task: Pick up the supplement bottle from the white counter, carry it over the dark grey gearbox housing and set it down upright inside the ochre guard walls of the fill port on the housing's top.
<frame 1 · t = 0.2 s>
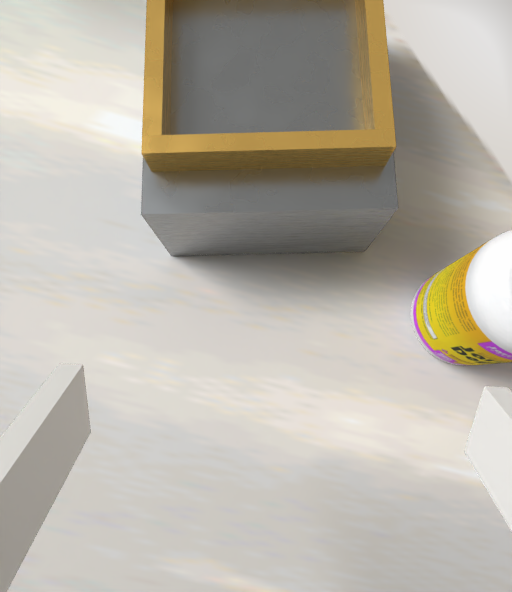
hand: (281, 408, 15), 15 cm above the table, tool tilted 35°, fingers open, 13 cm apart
supplement bottle: (454, 318, 31), on the table
gearbox: (264, 140, 33), on the table
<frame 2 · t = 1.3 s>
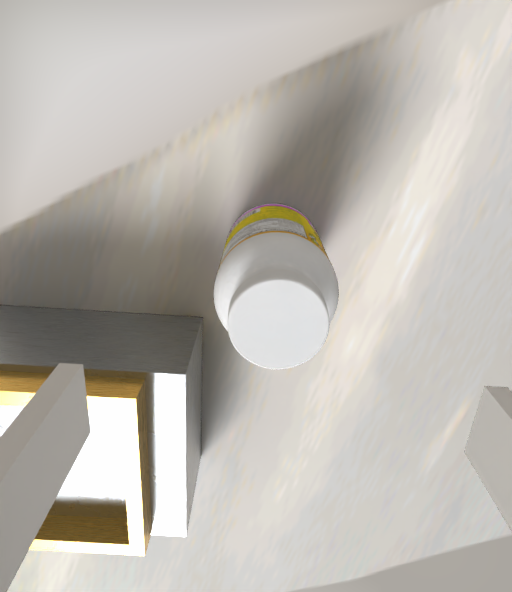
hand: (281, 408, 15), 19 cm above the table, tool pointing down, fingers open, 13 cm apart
supplement bottle: (272, 245, 32), on the table
gearbox: (94, 386, 37), on the table
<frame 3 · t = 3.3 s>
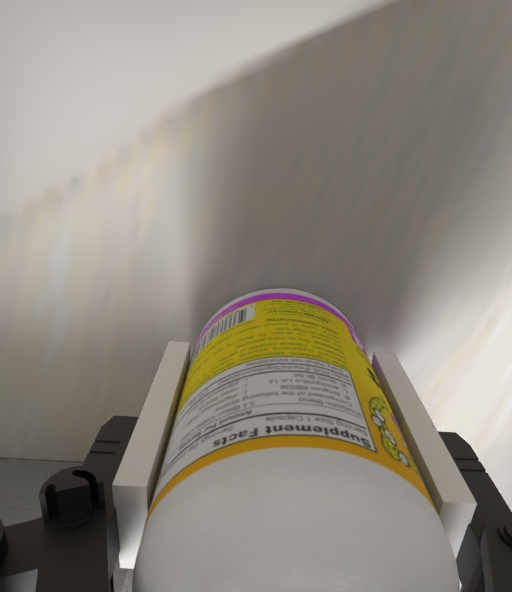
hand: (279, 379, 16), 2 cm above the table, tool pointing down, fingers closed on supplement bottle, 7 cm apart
supplement bottle: (277, 355, 18), on the table, touching gripper
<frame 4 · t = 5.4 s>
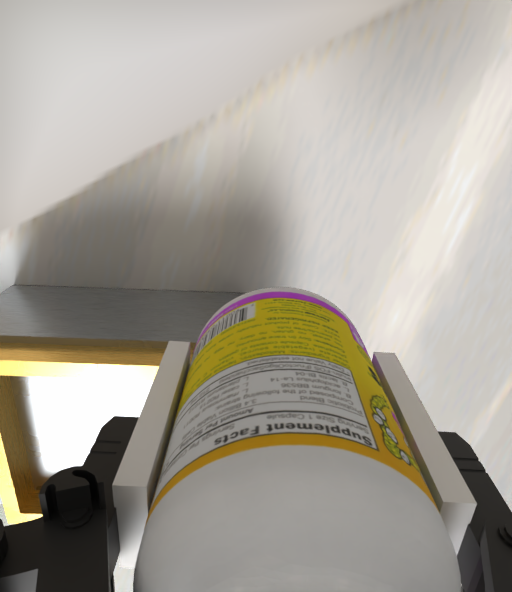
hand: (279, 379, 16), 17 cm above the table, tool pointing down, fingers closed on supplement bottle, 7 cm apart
supplement bottle: (278, 354, 18), point 16 cm above the table, touching gripper
gearbox: (136, 366, 36), on the table
when the fingers open (11 cm above the table, at t = 7.6 s): supplement bottle drops 2 cm, resting on gearbox.
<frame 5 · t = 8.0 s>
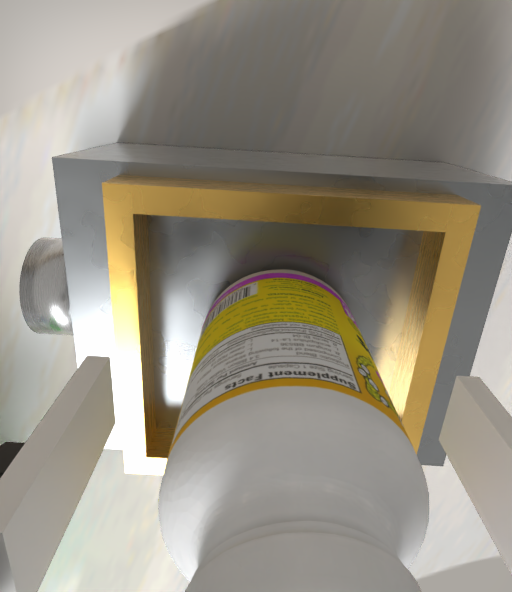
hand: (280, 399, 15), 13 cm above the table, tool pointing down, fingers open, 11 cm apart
supplement bottle: (278, 331, 19), point 8 cm above the table, touching gearbox
gearbox: (272, 272, 27), on the table
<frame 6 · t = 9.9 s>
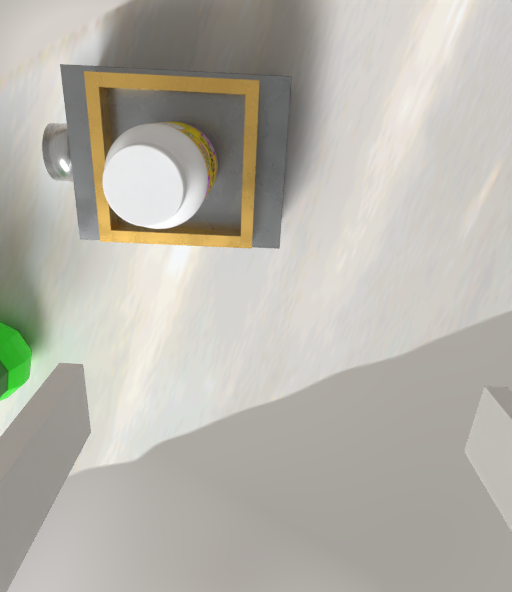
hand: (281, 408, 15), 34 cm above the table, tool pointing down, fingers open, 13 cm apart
supplement bottle: (179, 162, 37), point 8 cm above the table, touching gearbox
gearbox: (191, 154, 44), on the table
plastic bottle: (4, 343, 53), on the table
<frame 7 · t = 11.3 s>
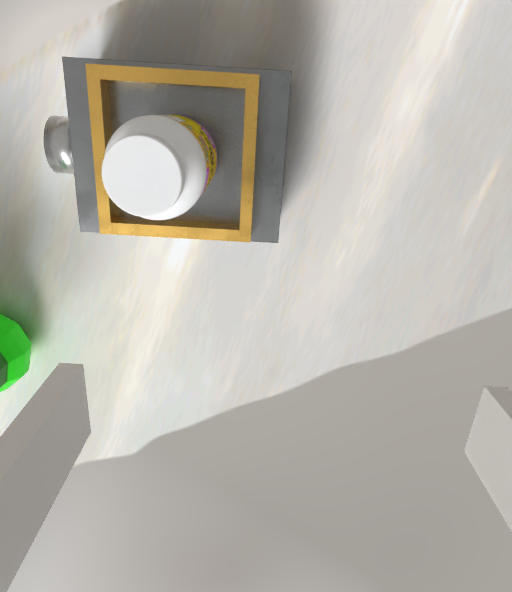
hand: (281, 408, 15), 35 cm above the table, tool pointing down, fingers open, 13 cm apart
supplement bottle: (179, 156, 37), point 8 cm above the table, touching gearbox
gearbox: (192, 149, 44), on the table
plastic bottle: (4, 335, 53), on the table
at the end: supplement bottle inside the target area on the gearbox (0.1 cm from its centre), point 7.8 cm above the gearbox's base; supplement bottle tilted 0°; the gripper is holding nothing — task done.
